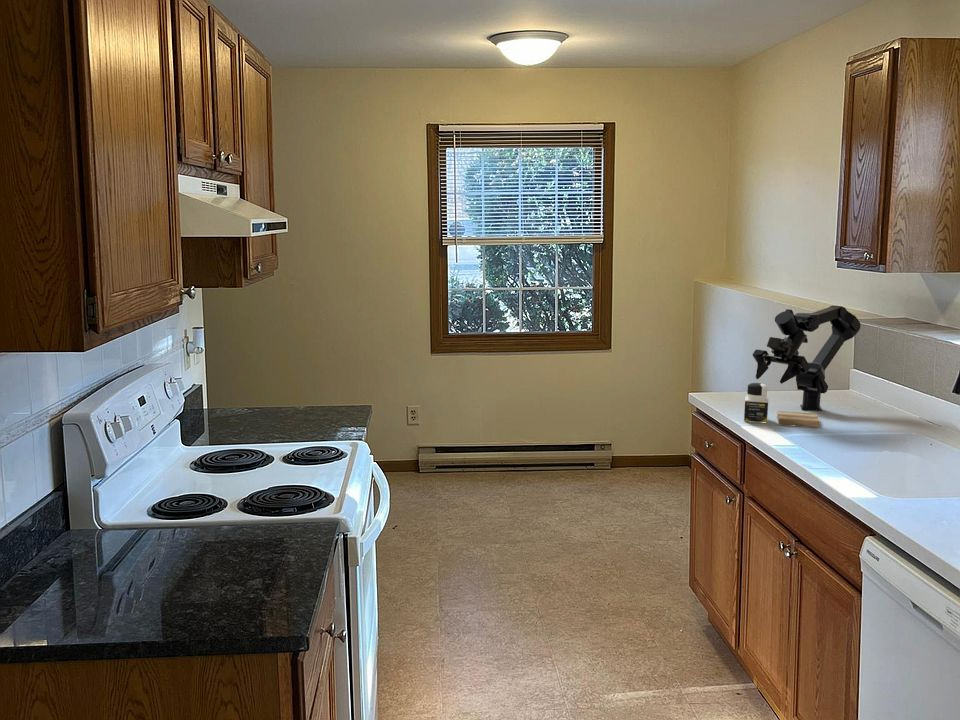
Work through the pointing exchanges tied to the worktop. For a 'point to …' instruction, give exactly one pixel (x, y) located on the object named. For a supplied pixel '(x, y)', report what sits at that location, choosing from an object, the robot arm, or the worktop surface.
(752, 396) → the medicine bottle
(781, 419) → the tan flat square slab
